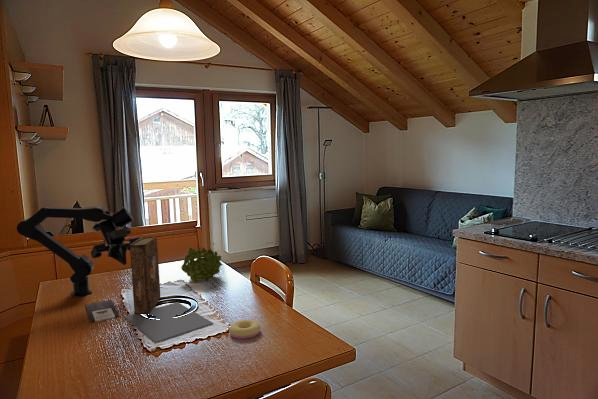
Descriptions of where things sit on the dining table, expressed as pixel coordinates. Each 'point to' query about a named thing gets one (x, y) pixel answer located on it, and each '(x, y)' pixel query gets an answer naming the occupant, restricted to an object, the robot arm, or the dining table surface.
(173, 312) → the mat
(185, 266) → the green leafy plant
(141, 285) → the book
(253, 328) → the donut
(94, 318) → the chocolate bar
